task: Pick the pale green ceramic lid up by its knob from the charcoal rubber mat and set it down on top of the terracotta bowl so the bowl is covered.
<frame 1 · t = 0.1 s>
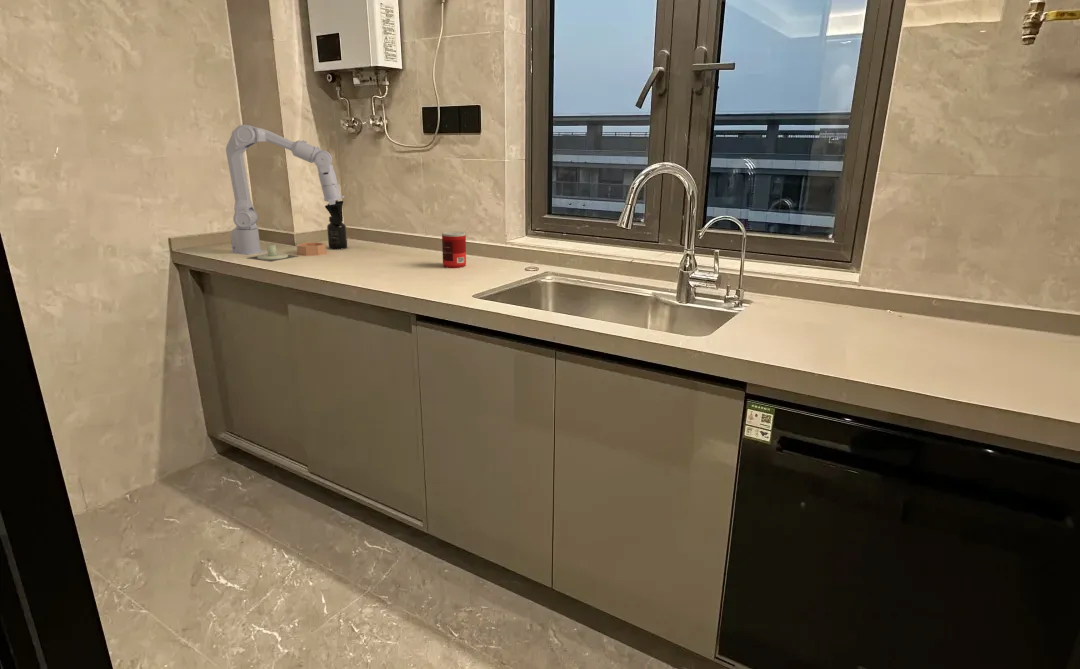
hand: (339, 222, 227), 11 cm above the worktop, tool pointing down, fingers open, 7 cm apart
supplement bottle: (338, 248, 237), on the worktop
lid: (272, 257, 214), resting on mat
mat: (272, 258, 214), on the worktop
bowl: (312, 254, 223), on the worktop
canned food: (454, 266, 207), on the worktop
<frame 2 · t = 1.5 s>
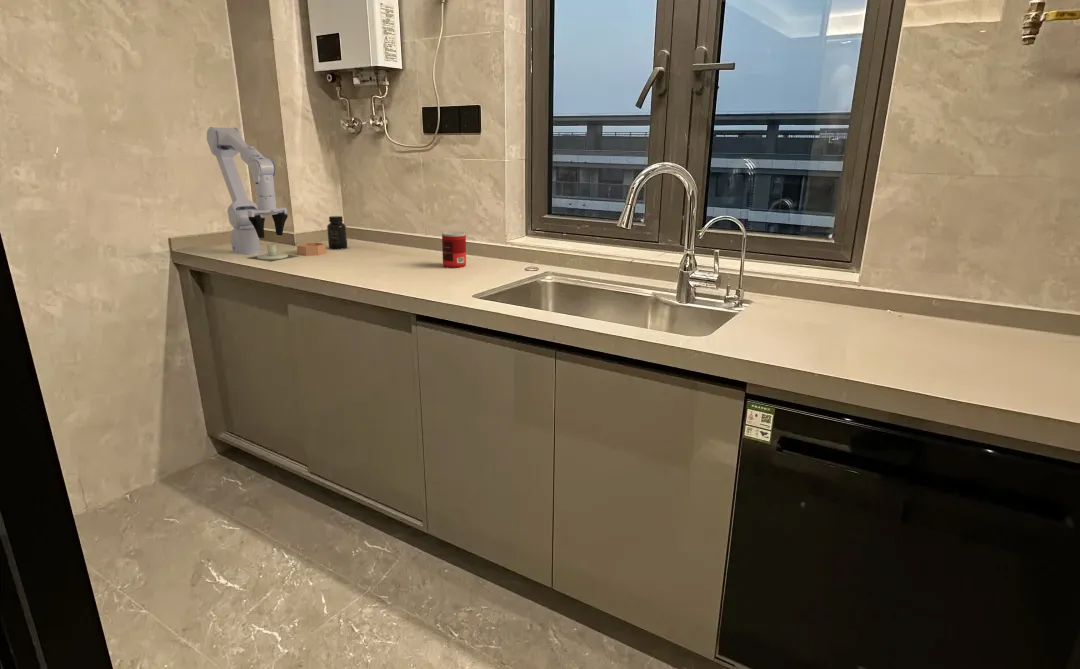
hand: (270, 236, 212), 8 cm above the worktop, tool pointing down, fingers open, 7 cm apart
nothing on the worktop moved.
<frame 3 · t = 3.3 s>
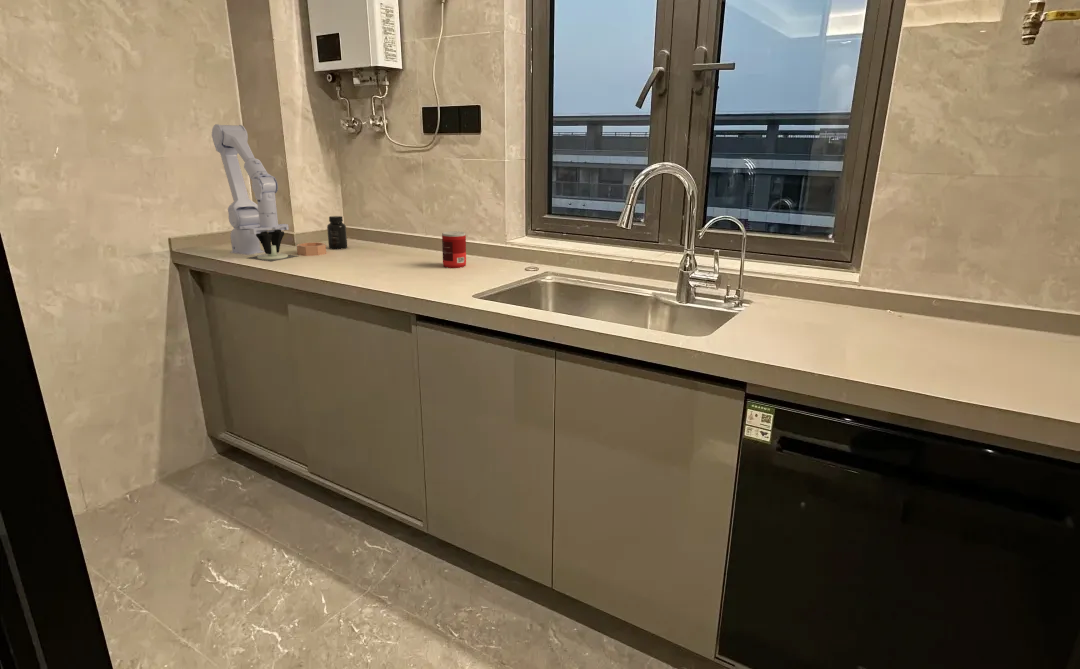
hand: (272, 253, 214), 2 cm above the worktop, tool pointing down, fingers closed on lid, 3 cm apart
lid: (272, 257, 214), resting on mat, touching gripper
everything else where it was.
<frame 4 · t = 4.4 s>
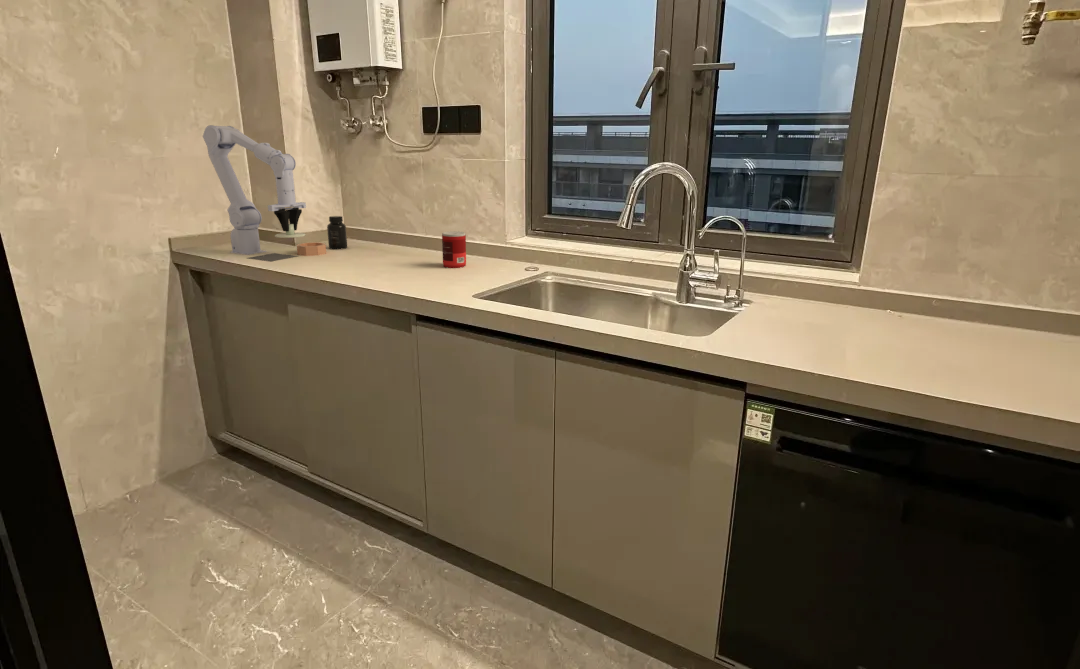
hand: (289, 230, 216), 9 cm above the worktop, tool pointing down, fingers closed on lid, 3 cm apart
lid: (290, 235, 217), point 7 cm above the worktop, touching gripper
everything else where it was.
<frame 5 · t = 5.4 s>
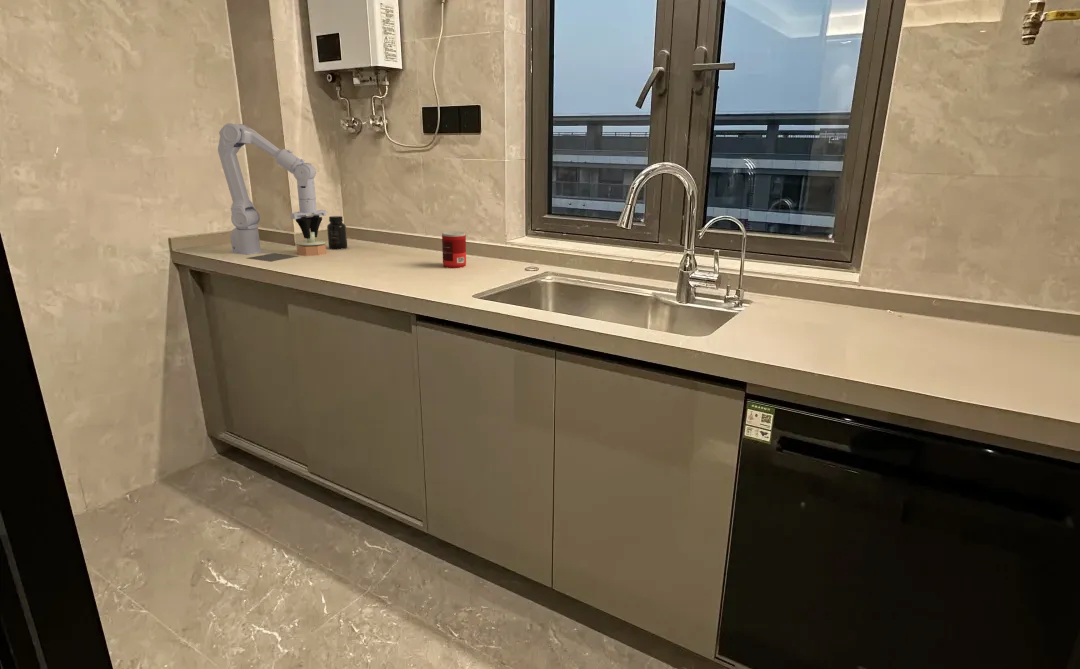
hand: (310, 237, 222), 6 cm above the worktop, tool pointing down, fingers closed on lid, 3 cm apart
lid: (311, 243, 222), point 4 cm above the worktop, touching gripper
everything else where it was.
when the fingers open (6 cm above the worktop, at t = 6.0 s): lid stays where it is, resting on bowl.
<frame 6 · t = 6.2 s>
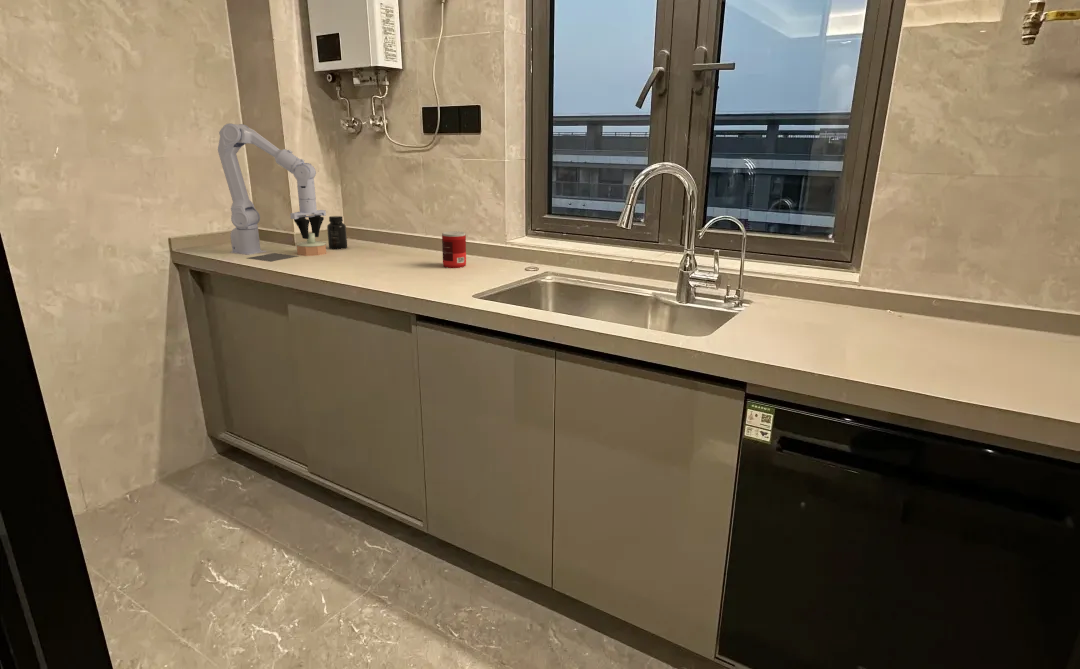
hand: (310, 237, 222), 6 cm above the worktop, tool pointing down, fingers open, 4 cm apart
lid: (311, 244, 222), point 3 cm above the worktop, touching bowl
everything else where it was.
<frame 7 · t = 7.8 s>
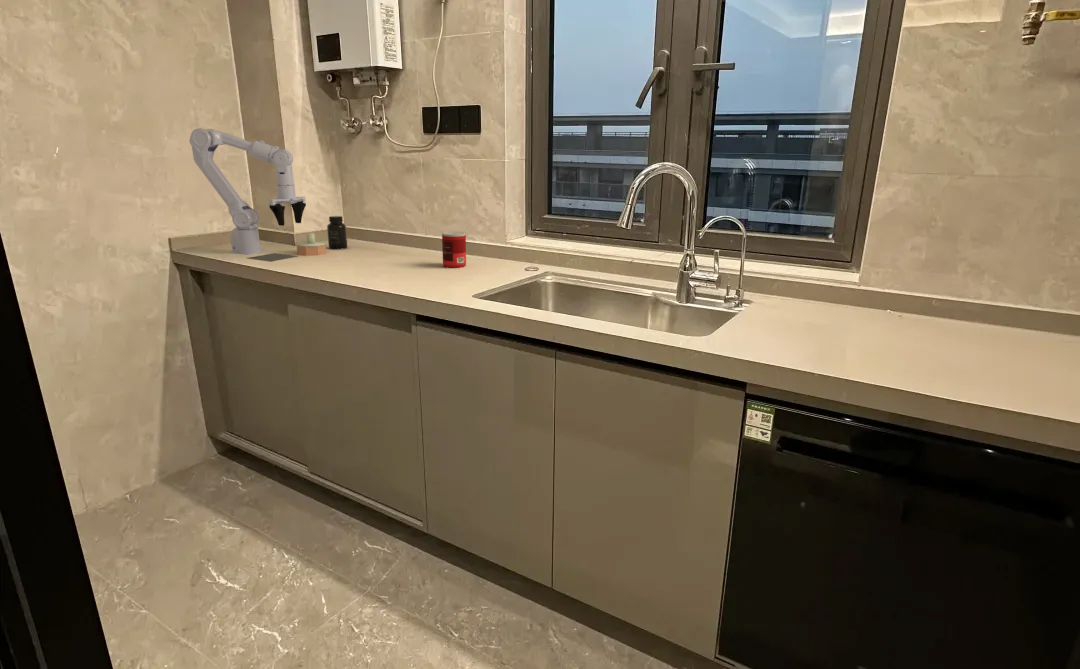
hand: (290, 224, 222), 10 cm above the worktop, tool pointing down, fingers open, 7 cm apart
nothing on the worktop moved.
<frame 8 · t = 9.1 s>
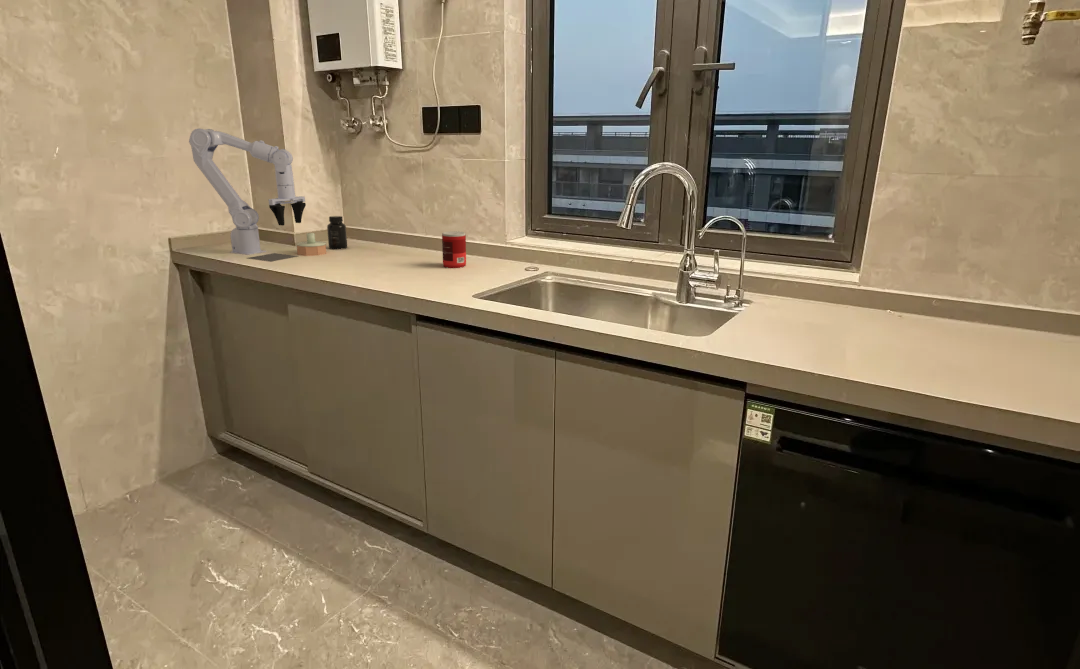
hand: (290, 224, 222), 10 cm above the worktop, tool pointing down, fingers open, 7 cm apart
nothing on the worktop moved.
at the end: lid 0.1 cm off-centre on the bowl, point 3.5 cm above the bowl's base; lid tilted 0°; the gripper is holding nothing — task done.
